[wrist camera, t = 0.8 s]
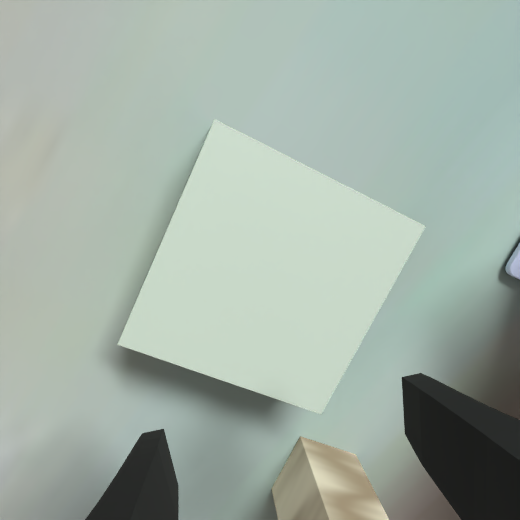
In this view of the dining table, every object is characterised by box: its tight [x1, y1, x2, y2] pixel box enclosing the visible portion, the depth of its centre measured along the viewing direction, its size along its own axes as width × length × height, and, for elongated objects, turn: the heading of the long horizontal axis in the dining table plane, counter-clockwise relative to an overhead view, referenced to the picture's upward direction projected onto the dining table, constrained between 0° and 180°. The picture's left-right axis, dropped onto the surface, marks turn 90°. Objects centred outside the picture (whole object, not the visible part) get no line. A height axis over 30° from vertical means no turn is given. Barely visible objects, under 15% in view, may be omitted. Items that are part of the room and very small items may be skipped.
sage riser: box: [117, 119, 426, 414], centre depth 19 cm, size 10×10×4 cm
